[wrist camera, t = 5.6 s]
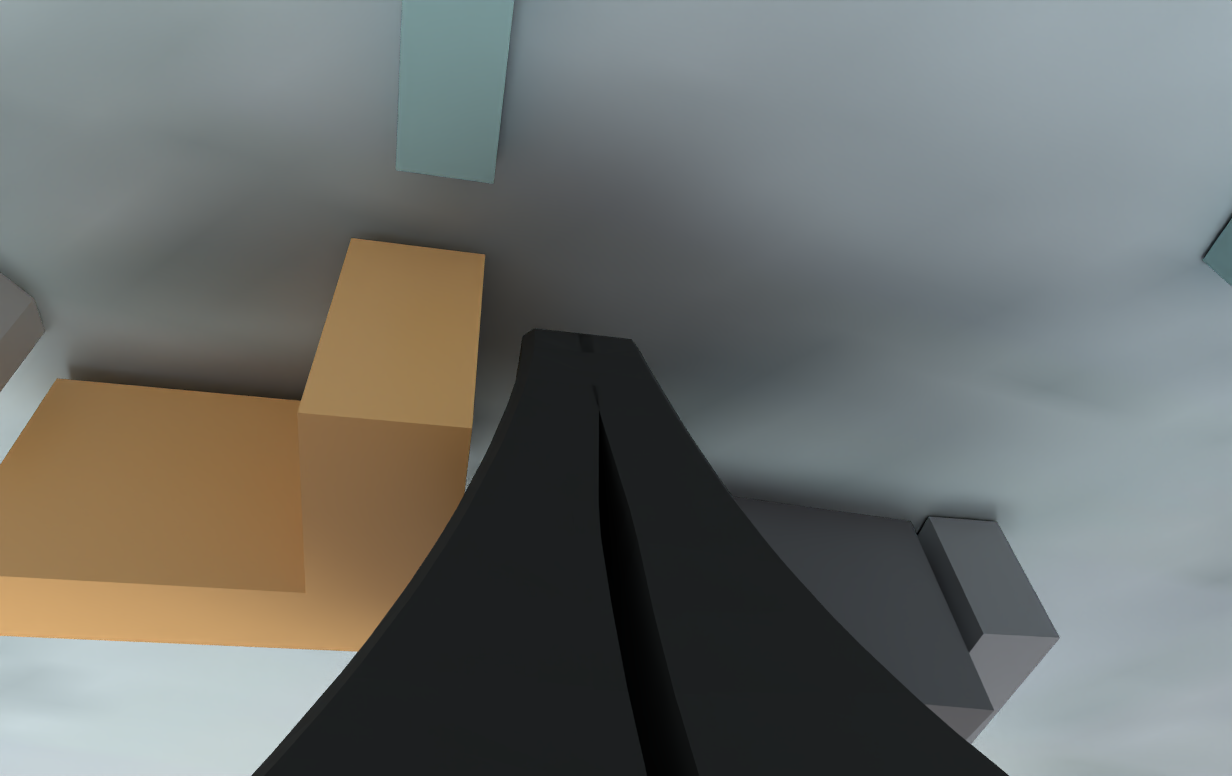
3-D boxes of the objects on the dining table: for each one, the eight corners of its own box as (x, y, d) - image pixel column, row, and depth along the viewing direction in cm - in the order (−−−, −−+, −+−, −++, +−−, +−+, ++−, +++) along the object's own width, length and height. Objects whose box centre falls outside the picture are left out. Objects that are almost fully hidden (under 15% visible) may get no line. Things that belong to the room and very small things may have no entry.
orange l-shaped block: (484, 254, 10) (471, 428, 8) (461, 469, 12) (444, 655, 10) (9, 194, 9) (-162, 371, 7) (72, 438, 11) (-43, 633, 9)
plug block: (907, 513, 14) (994, 710, 12) (789, 685, 17) (837, 873, 15) (609, 470, 13) (630, 677, 11) (539, 662, 16) (540, 862, 13)
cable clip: (997, 521, 14) (1060, 637, 13) (881, 693, 17) (919, 805, 16) (487, 481, 13) (480, 606, 11) (460, 676, 16) (451, 797, 14)
